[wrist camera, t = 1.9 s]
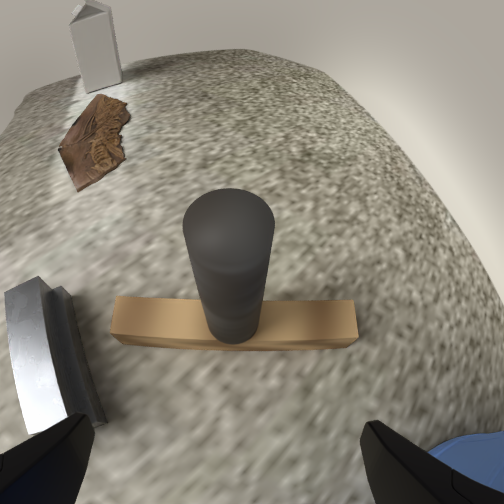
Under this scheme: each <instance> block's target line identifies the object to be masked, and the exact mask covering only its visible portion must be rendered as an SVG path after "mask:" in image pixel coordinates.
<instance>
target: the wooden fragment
mask: <svg viewBox="0 0 504 504" xmlns="http://www.w3.org/2000/svg"><path fill="white" fill-rule="evenodd" d="M126 105H127V103H125V102H122V101H120V100H118V99H113V98H111V97H110V98H109V97H107V96H106V95H103V94H97V95H96V96H95V98H94V99H93V100H92V101H91V102H90V104H89V105H88V106H87V107H86V109H85V110H84V111H83V113H82V114H81V115H80V116H79V117H78V118H77V120H76V121H75V122H74V124H73V125H72V126H71V128H70V129H69V131H68V133H67V134H66V136H65V138H64V139H63V140H62V142H61V143H60V145H59V147H61V146H63V147H62V148H58V151H59V153H60V155H61V157H62V160H63V162H64V164H65V166H66V168H67V171H68V173H69V175H70V177H71V179H72V181H73V183H74V185H75V187H76V189H77V192H79V191H81V190H83V189H84V188H86V187H88V186H89V185H91V184H93V183H96V182H98V181H99V180H101V179H102V178H103V177H104V175H105V174H107V173H109V172H110V171H112V170H114V169H115V168H116V167H117V165H119V164H120V163H121V162H123V161H124V160H125V159H126V158H124V154H123V152H122V146H121V145H120V141H121V137H122V135H118V134H119V132H120V129H121V126H123V125H124V124H125V123H126V122H127V121H128V119H129V116H130V114H129V113H128V112H127V111H126V109H125V106H126Z"/></svg>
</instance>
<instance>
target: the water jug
mask: <svg viewBox="0 0 504 504" xmlns="http://www.w3.org/2000/svg"><path fill="white" fill-rule="evenodd" d="M427 453H429V454H431V455H432V456H434V457H435V458H437V459H438V460H440V461H442V462H443V463H445V464H447V465H448V466H450V467H451V468H452V469H455V470H457V471H458V472H460V473H462V474H463V475H465V476H467V477H469V478H471V479H473V480H475V481H477V482H479V483H481V484H483V485H486V486H488V487H491V488H493V489H495V490H498V491H500V492H503V493H504V431H500V432H495V433H489V434H485V433H480V434H472V435H464V436H460V437H456V438H453V439H450V440H448V441H446V442H444V443H442V444H440V445H438V446H436V447H435V448H433V449H432V450H430V451H429V452H427Z"/></svg>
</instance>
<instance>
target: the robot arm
mask: <svg viewBox="0 0 504 504" xmlns="http://www.w3.org/2000/svg"><path fill="white" fill-rule="evenodd" d="M94 437H95V432H94V428H93V426H92V423H91V421H90V418H89V416H88V415H87V414H85V413H81V412H75V413H73V414H71V415H70V416H68V417H66V418H65V419H63V420H61V421H60V422H58V423H56V424H54V425H53V426H51V427H49V428H47V429H46V430H44V431H42V432H40V433H39V434H37V435H35V436H33V437H32V438H30V439H28V440H26V441H24V442H23V443H21V444H19V445H17V446H15V447H14V448H12V449H10V450H8V451H6V452H4V454H3V453H2V454H0V504H75V502H76V499H77V496H78V493H79V490H80V487H81V484H82V482H83V479H84V476H85V473H86V470H87V466H88V461H89V457H90V453H91V449H92V445H93V441H94ZM360 446H361V451H362V455H363V460H364V465H365V469H366V474H367V479H368V482H369V485H370V488H371V491H372V494H373V497H374V500H375V503H376V504H504V493H503V492H500V491H498V490H495V489H493V488H491V487H488V486H486V485H483V484H481V483H479V482H477V481H475V480H473V479H471V478H469V477H467V476H465V475H463V474H462V473H460V472H458V471H457V470H455V469H452V468H451V467H450V466H448V465H447V464H445V463H443V462H442V461H440V460H438V459H437V458H435V457H434V456H432V455H431V454H429V453H427V452H426V451H424V450H423V449H421V448H420V447H418V446H417V445H415V444H413V443H412V442H410V441H409V440H407V439H406V438H404V437H403V436H401V435H400V434H398V433H397V432H395V431H394V430H392V429H391V428H389V427H388V426H386V425H385V424H384V423H382V422H381V421H379V420H374V421H368V422H366V424H365V426H364V429H363V432H362V435H361V438H360Z"/></svg>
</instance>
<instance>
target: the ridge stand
mask: <svg viewBox="0 0 504 504" xmlns="http://www.w3.org/2000/svg"><path fill="white" fill-rule="evenodd" d="M4 294H5V311H6V323H7V333H8V341H9V348H10V355H11V362H12V367H13V373H14V378H15V383H16V388H17V392H18V397H19V401H20V405H21V409H22V413H23V417H24V420H25V424H26V427H27V431H28V434H29V435H37V434H39V433H40V432H42V431H44V430H46V429H47V428H49V427H51V426H53V425H54V424H56V423H58V422H60V421H61V420H63V419H65V418H66V417H68V416H70V415H71V414H73V413H75V412H81V413H85V414H87V415H88V416H89V418H90V421H91V423H92V426H93V428H94V427H97V426H101V425H104V424H107V423H108V422H107V420H106V417H105V415H104V412H103V409H102V406H101V404H100V401H99V398H98V395H97V392H96V389H95V386H94V383H93V380H92V377H91V374H90V370H89V367H88V364H87V360H86V357H85V353H84V349H83V346H82V342H81V338H80V334H79V330H78V326H77V321H76V317H75V312H74V308H73V303H72V298H71V295H70V294H69V293H68V292H67V291H66V290H65V289H64V288H63V287H62V286H59V287H57V288H55V289H53V290H52V289H51V288H50V287H49V286H48V285H47V284H46V283H45V282H44V281H43V280H42V279H41V278H40V277H39V276H37V277H35V278H33V279H31V280H29V281H26V282H24V283H22V284H20V285H18V286H16V287H14V288H12V289H10V290H8V291H6V292H4Z"/></svg>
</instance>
